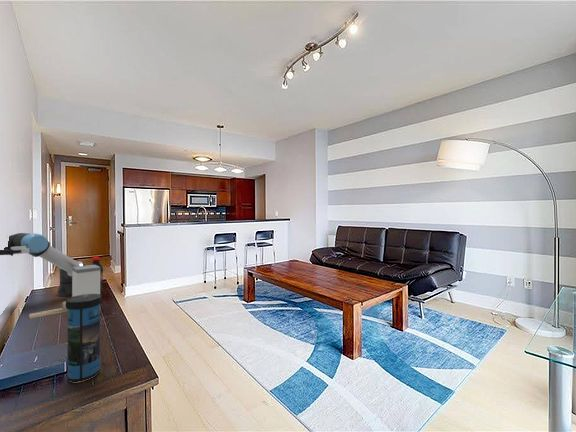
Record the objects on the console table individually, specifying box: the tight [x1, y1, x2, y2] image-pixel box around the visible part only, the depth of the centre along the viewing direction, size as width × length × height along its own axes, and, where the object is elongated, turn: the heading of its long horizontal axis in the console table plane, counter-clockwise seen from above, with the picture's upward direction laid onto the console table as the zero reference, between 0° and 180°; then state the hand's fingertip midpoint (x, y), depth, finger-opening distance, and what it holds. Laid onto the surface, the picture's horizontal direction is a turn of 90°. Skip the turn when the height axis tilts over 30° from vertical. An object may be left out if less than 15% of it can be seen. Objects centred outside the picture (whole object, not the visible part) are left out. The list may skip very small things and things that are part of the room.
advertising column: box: [65, 294, 103, 382], centre depth 109 cm, size 11×11×30 cm
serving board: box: [28, 300, 68, 319], centre depth 176 cm, size 4×26×6 cm, turn 134°
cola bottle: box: [91, 256, 104, 297], centre depth 204 cm, size 8×8×30 cm
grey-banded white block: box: [71, 264, 101, 297], centre depth 177 cm, size 12×12×28 cm
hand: (27, 249), depth 166 cm, fingers open, 13 cm apart
